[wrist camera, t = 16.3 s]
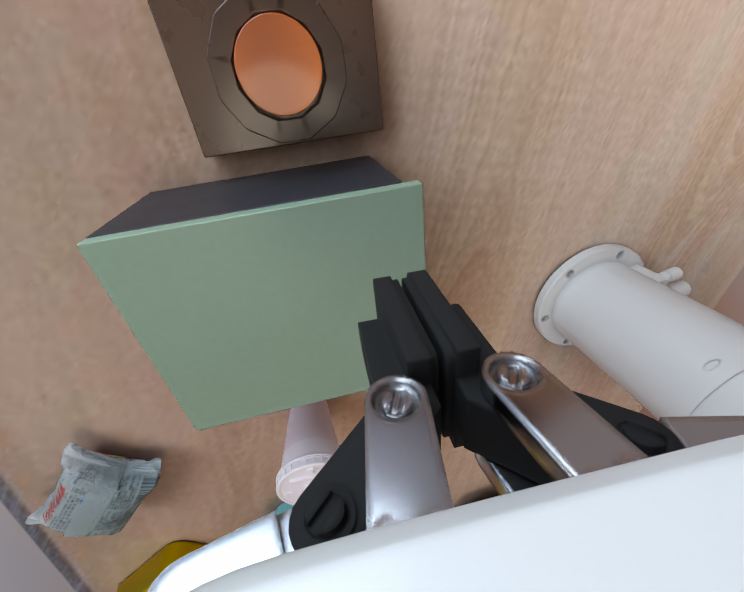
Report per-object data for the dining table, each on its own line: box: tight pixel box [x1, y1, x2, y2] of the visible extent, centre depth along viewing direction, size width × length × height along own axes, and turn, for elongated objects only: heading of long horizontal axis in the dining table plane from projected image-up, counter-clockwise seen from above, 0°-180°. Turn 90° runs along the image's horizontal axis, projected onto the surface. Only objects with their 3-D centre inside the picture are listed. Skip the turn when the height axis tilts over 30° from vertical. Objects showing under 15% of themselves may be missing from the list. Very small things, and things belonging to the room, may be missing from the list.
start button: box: [234, 13, 322, 116], centre depth 18 cm, size 4×4×2 cm
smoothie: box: [276, 400, 339, 505], centre depth 31 cm, size 6×6×14 cm
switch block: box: [147, 0, 383, 158], centre depth 20 cm, size 12×8×4 cm, turn 97°
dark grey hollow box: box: [86, 156, 402, 239], centre depth 24 cm, size 16×14×9 cm
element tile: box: [117, 541, 205, 592], centre depth 48 cm, size 15×15×5 cm
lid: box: [77, 180, 426, 431], centre depth 20 cm, size 17×14×1 cm
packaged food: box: [25, 442, 161, 537], centre depth 34 cm, size 9×12×5 cm
